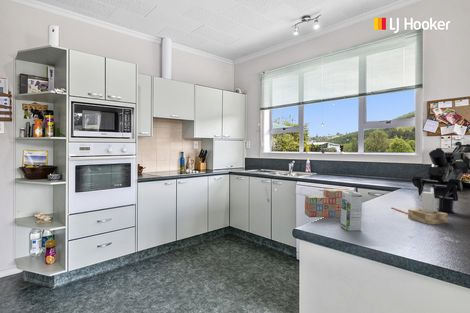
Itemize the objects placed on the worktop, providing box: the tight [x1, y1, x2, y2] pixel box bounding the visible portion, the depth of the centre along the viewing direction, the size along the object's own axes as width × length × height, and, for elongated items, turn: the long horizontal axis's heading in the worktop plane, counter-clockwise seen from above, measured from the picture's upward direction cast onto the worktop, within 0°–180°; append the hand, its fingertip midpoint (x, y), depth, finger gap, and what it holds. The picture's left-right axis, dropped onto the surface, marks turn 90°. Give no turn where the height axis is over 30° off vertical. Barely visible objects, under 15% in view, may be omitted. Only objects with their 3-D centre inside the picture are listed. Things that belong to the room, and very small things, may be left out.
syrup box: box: [340, 190, 363, 232], centre depth 102 cm, size 6×6×14 cm
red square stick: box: [391, 207, 408, 215], centre depth 130 cm, size 14×1×1 cm, turn 1°
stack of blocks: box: [304, 188, 356, 218], centre depth 121 cm, size 21×6×12 cm, turn 95°
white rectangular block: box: [421, 191, 435, 213], centre depth 114 cm, size 4×4×12 cm
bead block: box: [407, 208, 449, 225], centre depth 115 cm, size 10×10×4 cm
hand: (430, 196), depth 120 cm, fingers open, 9 cm apart
